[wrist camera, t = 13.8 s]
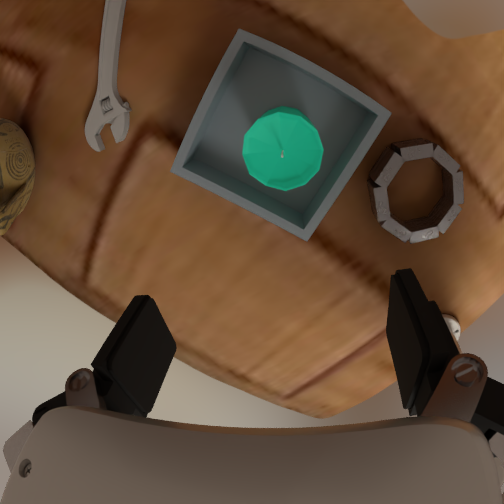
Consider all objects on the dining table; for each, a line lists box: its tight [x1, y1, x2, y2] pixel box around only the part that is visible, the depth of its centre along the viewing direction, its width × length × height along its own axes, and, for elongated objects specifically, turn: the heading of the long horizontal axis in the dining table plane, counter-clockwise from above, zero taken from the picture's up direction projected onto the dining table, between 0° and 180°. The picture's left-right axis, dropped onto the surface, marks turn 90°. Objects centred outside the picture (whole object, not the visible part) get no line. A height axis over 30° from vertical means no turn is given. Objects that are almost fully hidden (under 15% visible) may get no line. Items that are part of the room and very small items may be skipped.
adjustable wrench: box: [85, 0, 131, 151], centre depth 26 cm, size 25×6×2 cm, turn 170°
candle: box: [242, 106, 324, 191], centre depth 24 cm, size 6×6×12 cm
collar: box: [367, 138, 464, 244], centre depth 30 cm, size 12×12×3 cm
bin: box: [170, 29, 392, 241], centre depth 28 cm, size 16×16×5 cm
